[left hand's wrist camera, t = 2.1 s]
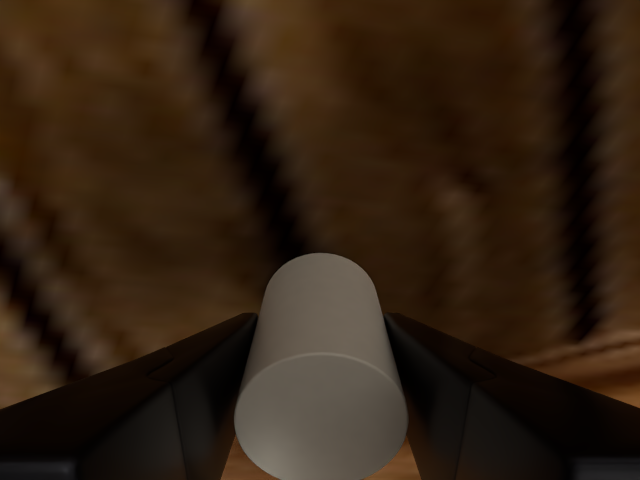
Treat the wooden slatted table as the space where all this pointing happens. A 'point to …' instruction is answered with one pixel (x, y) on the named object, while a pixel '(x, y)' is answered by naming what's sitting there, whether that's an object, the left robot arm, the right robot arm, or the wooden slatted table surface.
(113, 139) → the wooden slatted table surface
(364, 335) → the cylinder
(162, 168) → the wooden slatted table surface
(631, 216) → the wooden slatted table surface
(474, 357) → the left robot arm
